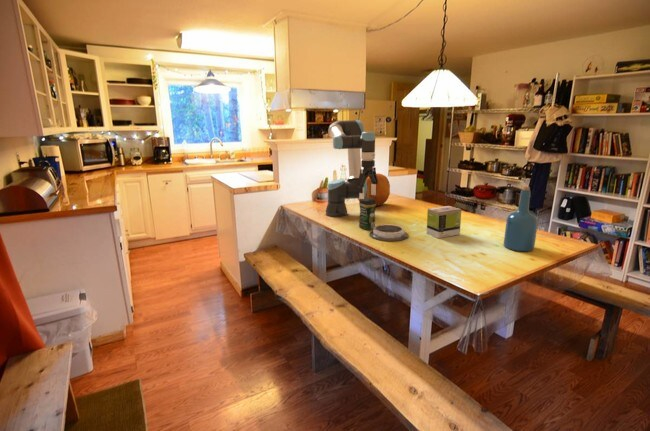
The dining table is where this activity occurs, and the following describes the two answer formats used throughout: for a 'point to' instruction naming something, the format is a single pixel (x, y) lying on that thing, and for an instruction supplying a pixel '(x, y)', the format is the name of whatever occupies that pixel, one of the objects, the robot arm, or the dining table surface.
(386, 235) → the ring collar
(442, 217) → the tea box
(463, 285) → the dining table surface
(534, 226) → the wine bottle
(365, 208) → the coffee jar
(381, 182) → the pumpkin
